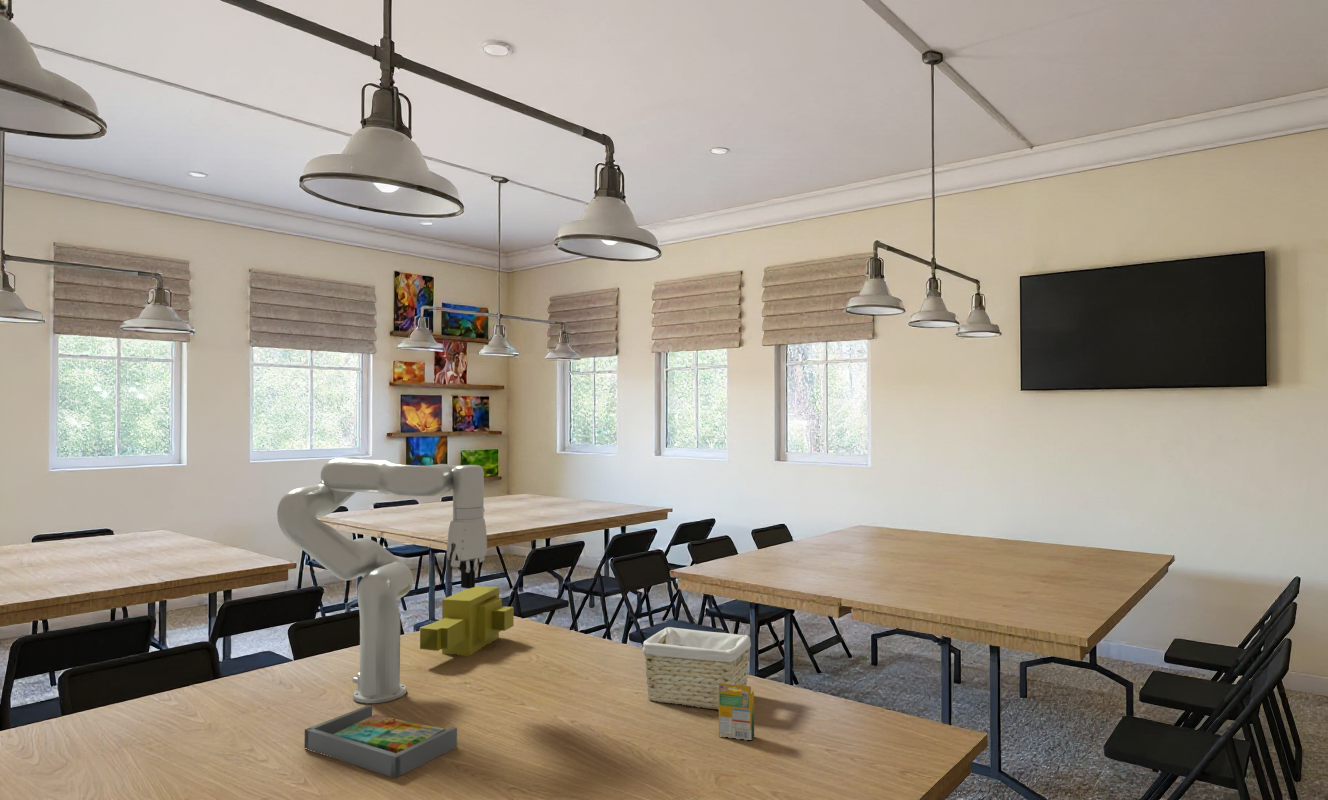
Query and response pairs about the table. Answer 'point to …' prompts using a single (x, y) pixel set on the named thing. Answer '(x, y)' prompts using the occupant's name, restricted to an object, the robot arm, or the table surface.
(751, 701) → the crayon box
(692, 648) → the storage basket
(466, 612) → the toy blocks
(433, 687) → the table surface
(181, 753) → the table surface
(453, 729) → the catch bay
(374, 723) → the puzzle game
